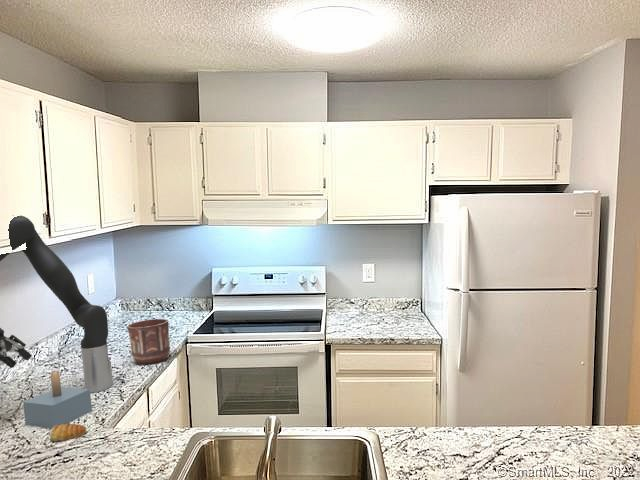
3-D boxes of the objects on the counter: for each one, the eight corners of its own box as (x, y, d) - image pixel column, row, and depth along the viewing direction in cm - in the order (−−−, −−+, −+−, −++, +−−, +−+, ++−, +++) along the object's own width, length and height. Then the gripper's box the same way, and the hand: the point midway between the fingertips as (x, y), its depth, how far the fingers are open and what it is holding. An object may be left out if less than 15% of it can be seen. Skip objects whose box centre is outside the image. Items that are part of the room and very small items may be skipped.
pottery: (154, 353, 230) (151, 317, 229) (179, 356, 221) (175, 319, 220) (123, 365, 215) (119, 326, 214) (148, 368, 206) (144, 328, 205)
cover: (63, 407, 166) (58, 364, 166) (92, 410, 161) (87, 366, 160) (25, 424, 153) (20, 378, 153) (55, 428, 148) (50, 380, 147)
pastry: (89, 429, 146) (87, 417, 146) (82, 439, 140) (81, 426, 139) (56, 434, 144) (55, 422, 144) (48, 444, 138) (47, 431, 138)
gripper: (-24, 327, 148) (16, 359, 149) (4, 317, 162) (41, 347, 163) (-40, 345, 148) (1, 377, 149) (-10, 334, 162) (27, 363, 163)
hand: (22, 361), depth 156 cm, fingers open, 8 cm apart
